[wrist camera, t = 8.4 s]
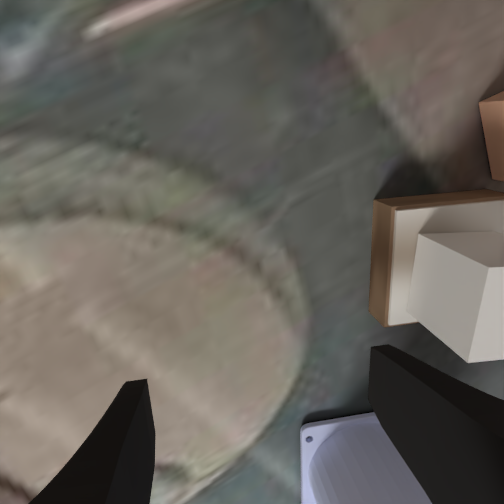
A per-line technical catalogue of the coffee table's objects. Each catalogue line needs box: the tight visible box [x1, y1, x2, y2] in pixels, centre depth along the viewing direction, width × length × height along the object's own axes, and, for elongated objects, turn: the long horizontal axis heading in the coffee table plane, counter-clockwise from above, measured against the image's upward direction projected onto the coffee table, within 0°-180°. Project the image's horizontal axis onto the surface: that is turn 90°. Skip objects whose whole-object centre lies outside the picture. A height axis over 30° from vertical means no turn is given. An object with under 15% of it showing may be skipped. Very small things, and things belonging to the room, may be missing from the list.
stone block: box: [406, 231, 504, 363], centre depth 19 cm, size 4×4×5 cm
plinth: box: [369, 189, 504, 327], centre depth 23 cm, size 7×7×2 cm
